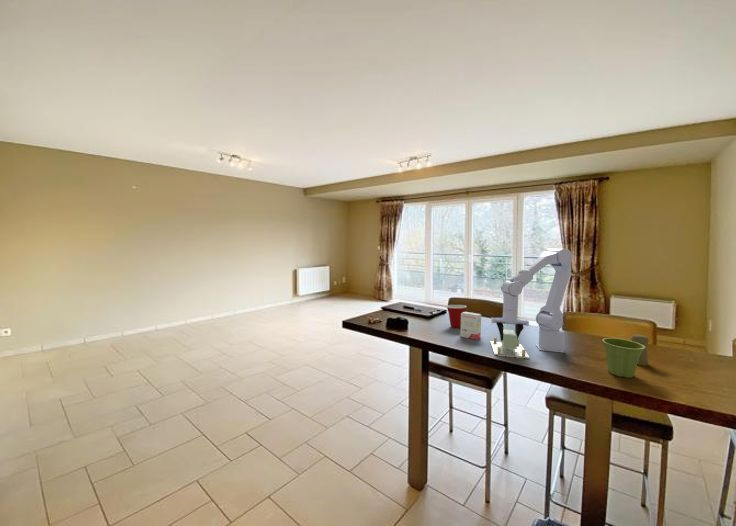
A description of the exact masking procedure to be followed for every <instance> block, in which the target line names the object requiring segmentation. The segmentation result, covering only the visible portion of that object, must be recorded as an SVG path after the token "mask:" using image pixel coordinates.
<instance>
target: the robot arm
mask: <svg viewBox="0 0 736 526" xmlns="http://www.w3.org/2000/svg"><path fill="white" fill-rule="evenodd" d="M573 259H574V255H573V253H572V252H571V250H570V249H568V248H552V247H551V248H550V247H549V248H545V250H544V251H542V253H541V254H540V256H539V257H538V258H537V259H536V260H534V262H533V263H532V264H531V265H530V266H529V267H528V268H527V269H526V268H525V269H523V268H522V269H520V270H518V273H516V274H515V275H514V276H513V277H511V278H509V280H505V281H504V282H503V283H502V285H501V286H500V291H501V292H502V297H503V300H502V301H503V303H502V317H491V319H490V321H491V322H490V323H491V324H496V326H497V329H498V331H499V336H500V337H499V338H500V342H501V341H503V329H504V325H514V327H515V329H514V332H515V333H516V335H517V341H518V340H519V336H520V335H521V332H522V331H523V330H524V326H525V327H526V326H527V327H529V326H530V321H529V320H528V319H521V318H520V319H519V318H518V309H519V295H521V294H522V291H523V289H524V288H525V287H526V285H528V284H529V283H531V282H532V280H533V279H534V275H535V274H537V273H539V271H541V270H542V269H543V268H545V267H546V266H548V265H550V266H551V267H552V268H553V269H554V276H553V279H552V283H551V286H550V290H549V292H548V296H547V300H546V302H545V303H546V304H545V305H544V306H541V307H540V310H539V312H538V313H537V314H536V316H535V322H536V323H537V325H538V329H539V330H538V343H535V346H536V347H537V348H538V350H539V351H542V352H543V351H544V352H552V353H565V339H566V338H565V337H566V336H565V332H564V330H563V329H562V327H563V326H564V320H563V319H564V313H563V312H562V310H561V308H562V307H561V306H562V303H563V301H564V300H563V299H564V295H565V293H566V289H567V286H568V283H569V281H570V280H569V279H570V277H571V273H572V261H573Z"/></svg>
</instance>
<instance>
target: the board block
mask: <svg viewBox="0 0 736 526" xmlns="http://www.w3.org/2000/svg"><path fill="white" fill-rule="evenodd" d="M500 342H501V343H502V345H503V347H504V348H510V349H517V335H516V333H515V329H514V330H513V329H504V328H503V341H501V340H500Z"/></svg>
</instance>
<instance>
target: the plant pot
mask: <svg viewBox="0 0 736 526" xmlns="http://www.w3.org/2000/svg"><path fill="white" fill-rule="evenodd" d="M601 340H602V341H601V342H603V346H604V350H605V356H606V357H605V358H606V365H607V371H608V372H609V373H610V374H611V375H614V376H616V377H625V378H626V379H627V378H628V379H629V378H633V377H634V376H635V373H636V369H637V367H638V365H637V364H638V361H639V357H640V355H641V353H642V350H643V349H645V346H644V345H642V344H640V343H637V342H633V341H631V340H629V339H623V338H617V337H605V338H602V339H601Z"/></svg>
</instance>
